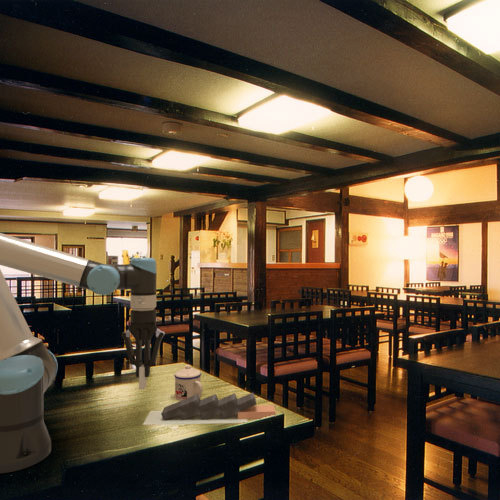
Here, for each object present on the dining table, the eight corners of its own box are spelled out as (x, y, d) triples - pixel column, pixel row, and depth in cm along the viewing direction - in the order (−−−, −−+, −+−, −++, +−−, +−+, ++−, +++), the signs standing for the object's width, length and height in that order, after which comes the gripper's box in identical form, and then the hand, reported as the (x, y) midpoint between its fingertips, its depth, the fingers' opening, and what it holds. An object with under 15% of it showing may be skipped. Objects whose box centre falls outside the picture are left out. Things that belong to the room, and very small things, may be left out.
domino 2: (179, 413, 114) (214, 399, 114) (182, 407, 119) (215, 393, 119) (182, 420, 114) (217, 406, 114) (184, 413, 119) (218, 399, 119)
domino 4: (219, 412, 114) (253, 398, 115) (219, 406, 119) (253, 392, 120) (221, 419, 114) (256, 404, 115) (222, 412, 119) (255, 398, 120)
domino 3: (200, 413, 114) (234, 398, 114) (201, 407, 119) (234, 393, 119) (202, 419, 114) (237, 405, 114) (204, 413, 119) (237, 399, 119)
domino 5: (238, 412, 119) (273, 411, 120) (238, 419, 114) (275, 418, 115) (238, 405, 119) (273, 405, 120) (238, 412, 114) (275, 411, 115)
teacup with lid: (169, 399, 133) (169, 365, 133) (190, 392, 140) (190, 360, 140) (190, 409, 125) (190, 372, 125) (212, 401, 131) (212, 366, 132)
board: (142, 428, 111) (142, 424, 111) (150, 414, 121) (150, 410, 121) (247, 426, 112) (247, 422, 112) (246, 412, 122) (246, 409, 122)
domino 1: (161, 413, 114) (196, 399, 114) (164, 407, 119) (198, 393, 119) (163, 420, 114) (198, 406, 114) (166, 413, 119) (200, 400, 119)
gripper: (117, 310, 113) (116, 392, 113) (162, 310, 113) (161, 392, 113) (125, 307, 121) (124, 383, 120) (167, 307, 121) (167, 383, 120)
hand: (142, 387), depth 117 cm, fingers closed
